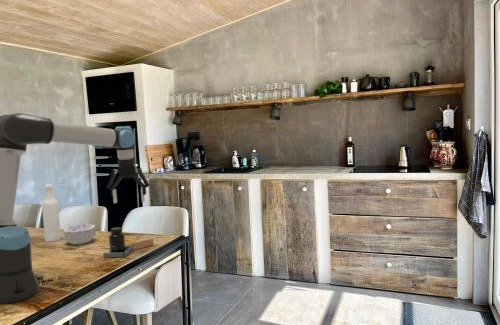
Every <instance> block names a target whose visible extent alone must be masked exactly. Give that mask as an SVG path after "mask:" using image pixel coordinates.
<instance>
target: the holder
mask: <svg viewBox="0 0 500 325" xmlns="http://www.w3.org/2000/svg"><path fill="white" fill-rule="evenodd" d="M154 244H155V243H154V238H149V239H143V240H139V241H135V242H131V243H130V245H125V252H118V253H110V252H103V256H102V257H103V258H125V257H127V256H128V255H129V254H130V253H131V252H133V251H134V250H135V251H136V250H139V249H143V248H146V247H150V246H154Z"/></svg>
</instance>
